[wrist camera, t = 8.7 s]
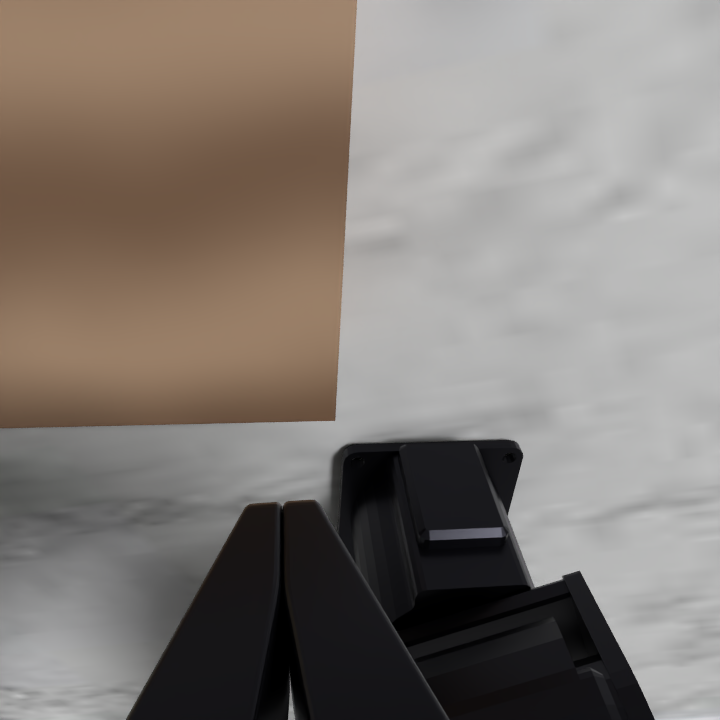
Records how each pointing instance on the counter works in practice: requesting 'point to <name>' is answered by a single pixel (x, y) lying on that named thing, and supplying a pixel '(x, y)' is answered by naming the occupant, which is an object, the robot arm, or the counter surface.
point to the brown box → (172, 209)
